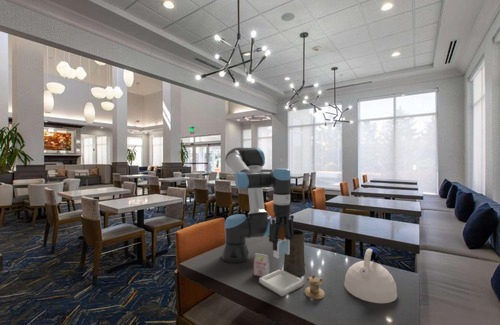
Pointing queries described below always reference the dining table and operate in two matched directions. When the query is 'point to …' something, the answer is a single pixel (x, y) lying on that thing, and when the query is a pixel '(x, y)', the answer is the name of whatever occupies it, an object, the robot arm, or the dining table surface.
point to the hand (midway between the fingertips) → (281, 255)
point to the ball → (283, 247)
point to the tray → (281, 282)
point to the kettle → (370, 280)
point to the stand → (314, 288)
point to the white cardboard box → (261, 265)
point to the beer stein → (295, 255)
